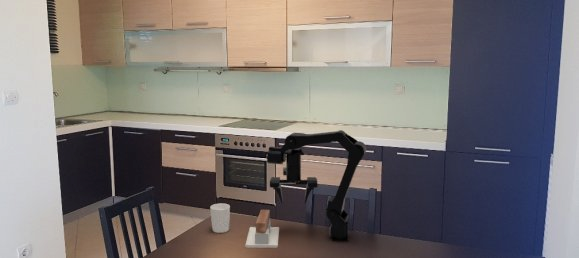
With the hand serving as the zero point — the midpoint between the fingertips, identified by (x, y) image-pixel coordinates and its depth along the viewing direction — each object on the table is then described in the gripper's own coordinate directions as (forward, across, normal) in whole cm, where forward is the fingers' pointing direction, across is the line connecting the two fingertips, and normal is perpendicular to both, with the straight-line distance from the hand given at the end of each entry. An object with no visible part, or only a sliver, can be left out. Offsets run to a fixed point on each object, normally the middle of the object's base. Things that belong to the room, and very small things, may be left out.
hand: (293, 203), depth 186 cm
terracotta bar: (+8, +12, +6) cm, 15 cm away
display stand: (+12, +12, +6) cm, 18 cm away
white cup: (+13, +30, -3) cm, 33 cm away
